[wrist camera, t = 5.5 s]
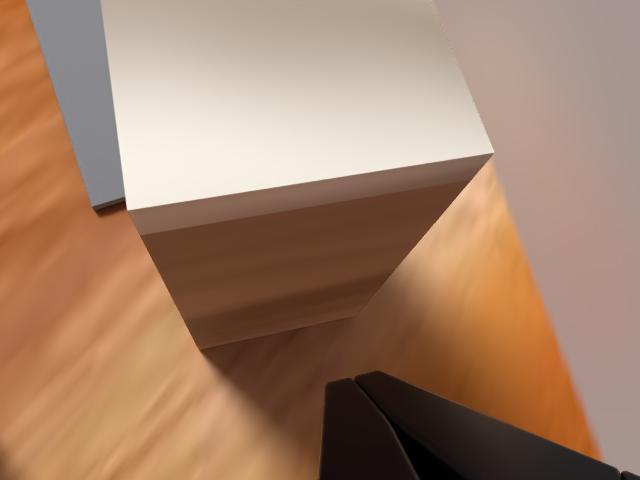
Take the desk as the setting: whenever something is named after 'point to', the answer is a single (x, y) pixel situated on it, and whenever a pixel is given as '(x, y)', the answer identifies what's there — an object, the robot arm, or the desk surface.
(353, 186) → the tan wooden block
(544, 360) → the desk surface
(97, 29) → the mat
